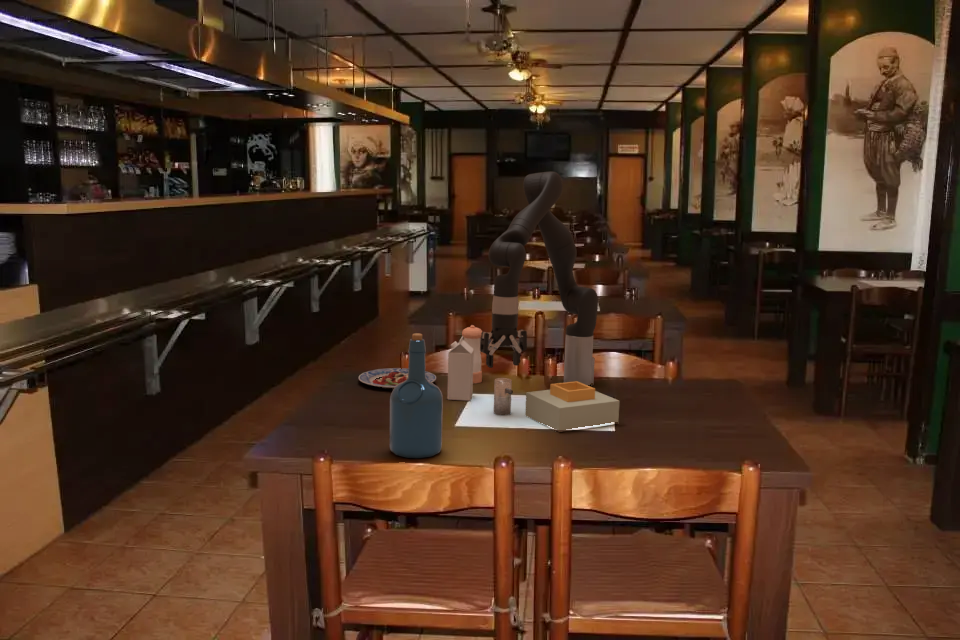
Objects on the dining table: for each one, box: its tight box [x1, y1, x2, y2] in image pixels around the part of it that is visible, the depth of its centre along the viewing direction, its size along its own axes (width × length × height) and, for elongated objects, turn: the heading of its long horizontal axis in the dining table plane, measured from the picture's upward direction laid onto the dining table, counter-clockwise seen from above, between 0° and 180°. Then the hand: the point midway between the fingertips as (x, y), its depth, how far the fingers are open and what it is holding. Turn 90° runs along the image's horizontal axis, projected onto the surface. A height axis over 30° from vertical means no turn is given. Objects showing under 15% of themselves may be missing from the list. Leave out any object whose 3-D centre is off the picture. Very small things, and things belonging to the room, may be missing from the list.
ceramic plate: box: [358, 367, 437, 390], centre depth 277 cm, size 26×26×3 cm
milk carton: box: [447, 335, 474, 401], centre depth 259 cm, size 7×7×19 cm
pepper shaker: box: [461, 324, 483, 384], centre depth 281 cm, size 7×7×19 cm
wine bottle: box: [389, 332, 444, 459], centre depth 206 cm, size 14×13×30 cm
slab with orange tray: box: [524, 381, 620, 430], centre depth 239 cm, size 20×19×10 cm
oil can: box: [493, 377, 514, 416], centre depth 243 cm, size 7×5×10 cm
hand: (502, 366), depth 243 cm, fingers open, 8 cm apart
